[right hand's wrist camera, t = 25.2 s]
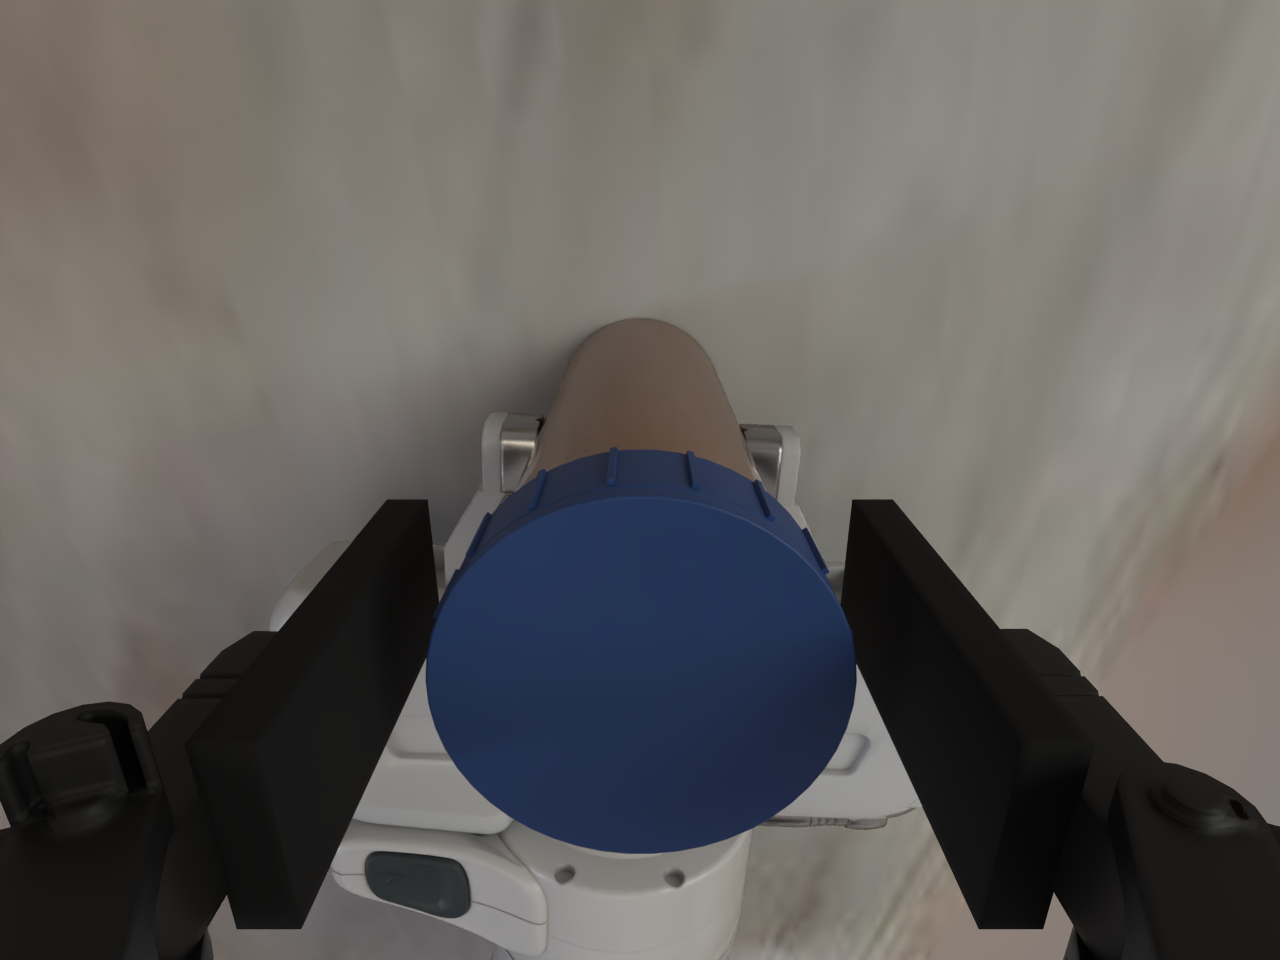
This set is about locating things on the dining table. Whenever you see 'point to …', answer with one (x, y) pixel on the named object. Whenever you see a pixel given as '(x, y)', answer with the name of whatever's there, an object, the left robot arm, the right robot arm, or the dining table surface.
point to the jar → (640, 401)
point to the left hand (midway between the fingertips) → (640, 423)
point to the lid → (641, 655)
